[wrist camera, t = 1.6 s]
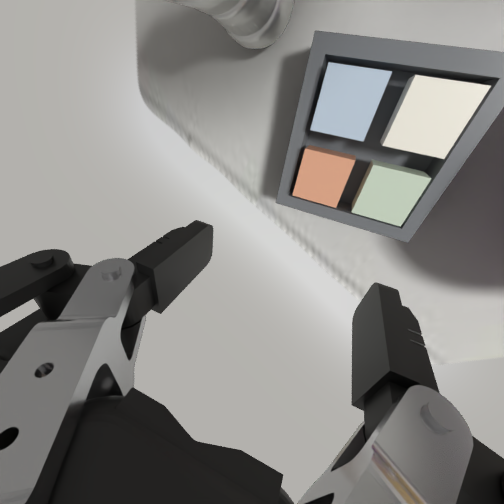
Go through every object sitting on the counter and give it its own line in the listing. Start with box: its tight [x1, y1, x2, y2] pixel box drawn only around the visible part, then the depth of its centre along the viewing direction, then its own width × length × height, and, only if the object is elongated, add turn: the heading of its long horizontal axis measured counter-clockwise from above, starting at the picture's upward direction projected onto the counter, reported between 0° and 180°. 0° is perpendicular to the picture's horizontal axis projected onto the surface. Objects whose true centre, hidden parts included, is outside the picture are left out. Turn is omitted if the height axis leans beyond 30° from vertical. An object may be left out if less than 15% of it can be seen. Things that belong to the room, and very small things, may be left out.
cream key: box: [380, 75, 491, 159], centre depth 17 cm, size 4×4×2 cm
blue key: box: [310, 62, 392, 141], centre depth 18 cm, size 4×4×2 cm
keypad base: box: [276, 31, 504, 243], centre depth 21 cm, size 14×14×4 cm
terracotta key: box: [293, 145, 356, 208], centre depth 22 cm, size 4×4×2 cm
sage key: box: [351, 160, 432, 227], centre depth 20 cm, size 4×4×2 cm
